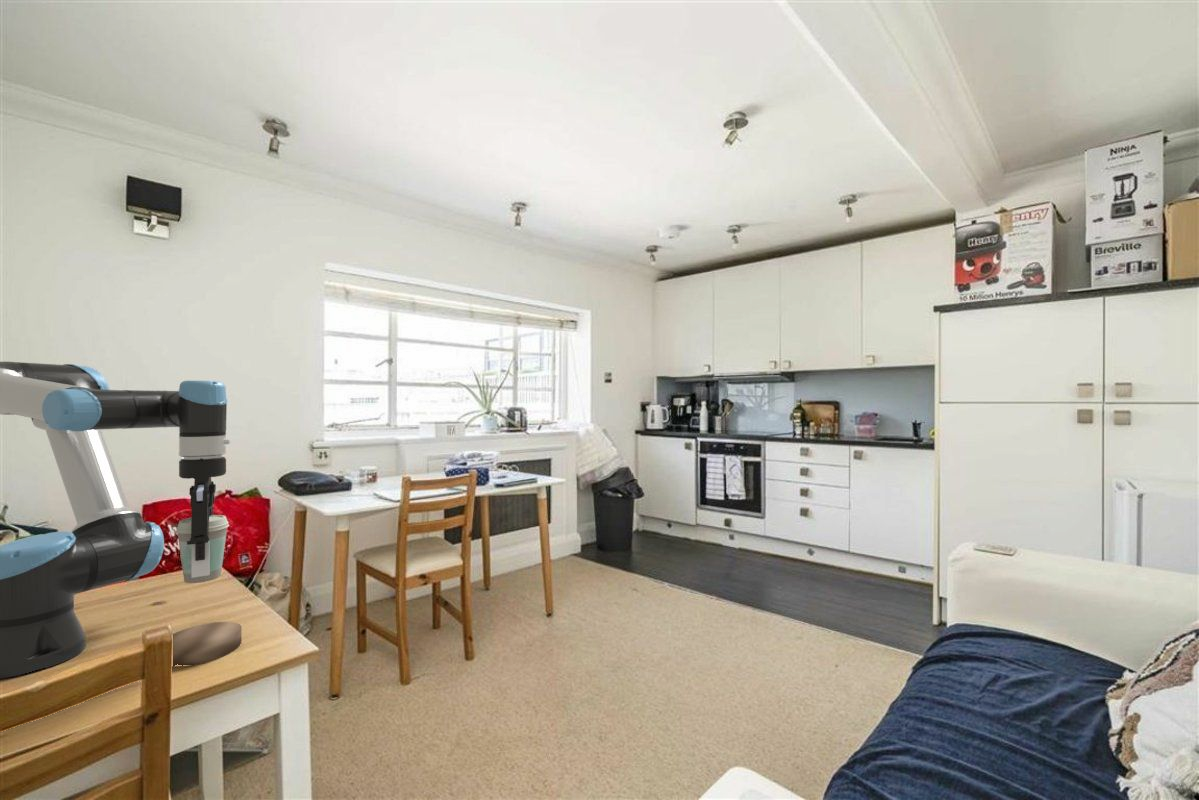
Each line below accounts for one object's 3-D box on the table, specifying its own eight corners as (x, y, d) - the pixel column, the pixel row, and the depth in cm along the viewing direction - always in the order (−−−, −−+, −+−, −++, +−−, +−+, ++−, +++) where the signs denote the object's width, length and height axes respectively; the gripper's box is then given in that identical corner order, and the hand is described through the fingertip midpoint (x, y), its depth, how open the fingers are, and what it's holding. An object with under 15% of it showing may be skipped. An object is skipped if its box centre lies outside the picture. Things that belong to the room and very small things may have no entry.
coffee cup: (170, 579, 102) (170, 519, 102) (221, 568, 109) (222, 512, 109) (181, 589, 97) (181, 526, 97) (234, 577, 103) (234, 518, 103)
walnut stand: (145, 671, 94) (145, 655, 94) (178, 640, 107) (178, 626, 107) (227, 660, 99) (228, 645, 99) (250, 632, 111) (250, 618, 111)
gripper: (222, 460, 96) (222, 581, 96) (228, 452, 114) (228, 554, 113) (171, 463, 92) (170, 589, 92) (185, 453, 109) (185, 560, 109)
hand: (202, 569), depth 103 cm, fingers closed on coffee cup, 8 cm apart
